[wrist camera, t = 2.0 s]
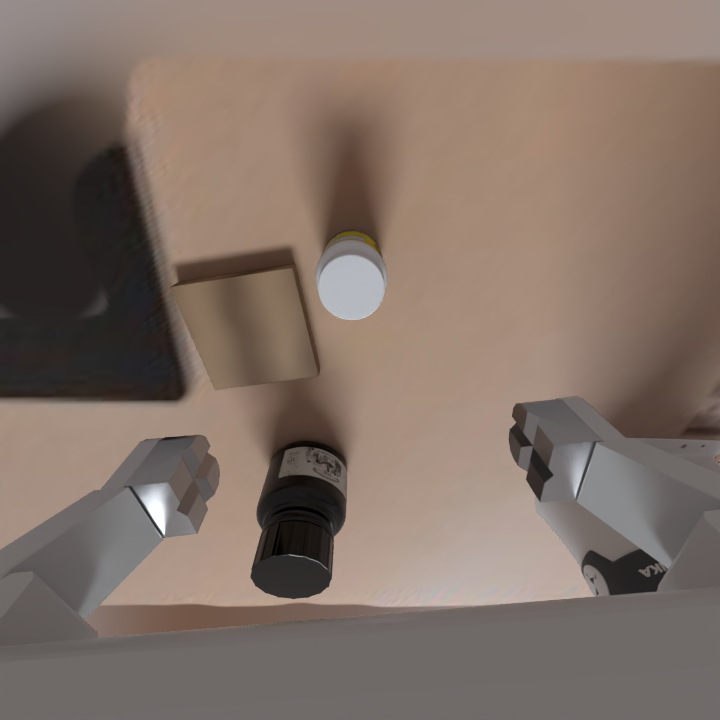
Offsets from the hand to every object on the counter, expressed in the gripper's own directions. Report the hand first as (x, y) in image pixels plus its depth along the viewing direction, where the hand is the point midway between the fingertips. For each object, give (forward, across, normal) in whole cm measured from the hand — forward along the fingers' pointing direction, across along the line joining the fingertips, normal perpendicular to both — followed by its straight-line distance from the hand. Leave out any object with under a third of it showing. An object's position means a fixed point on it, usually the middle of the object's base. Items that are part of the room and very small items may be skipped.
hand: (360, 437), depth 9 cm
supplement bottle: (+21, 0, 0) cm, 21 cm away
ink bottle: (+21, +8, +22) cm, 32 cm away
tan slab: (+21, +10, +4) cm, 24 cm away
